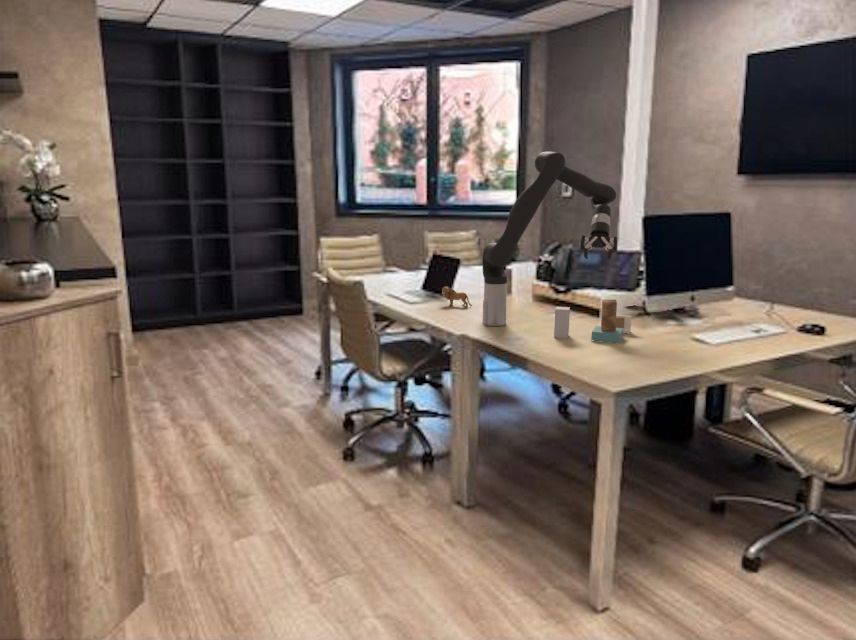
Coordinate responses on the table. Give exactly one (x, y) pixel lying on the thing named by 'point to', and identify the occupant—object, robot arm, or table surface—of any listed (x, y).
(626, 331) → the plaque
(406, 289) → the table surface
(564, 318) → the grey block
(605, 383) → the table surface
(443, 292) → the lion figurine
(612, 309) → the walnut block
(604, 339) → the teal base block
